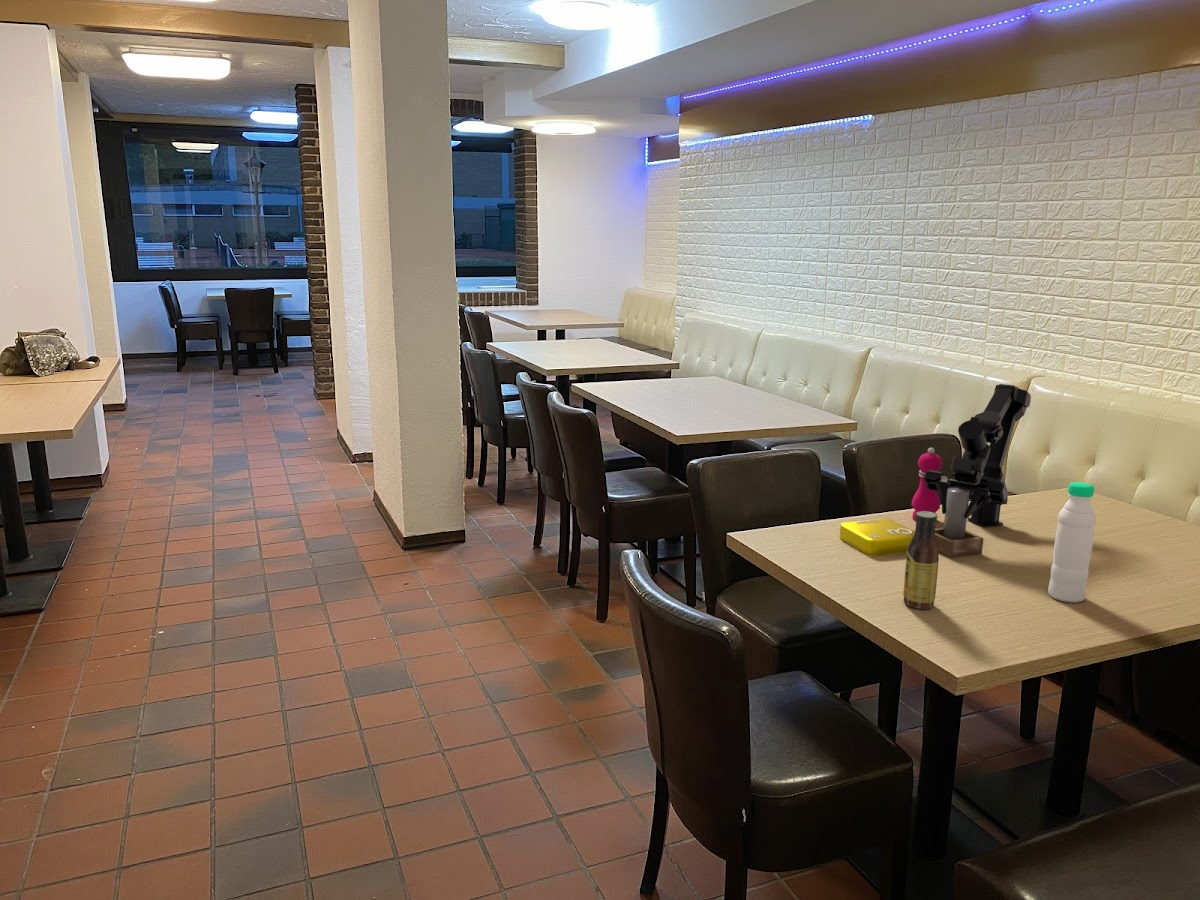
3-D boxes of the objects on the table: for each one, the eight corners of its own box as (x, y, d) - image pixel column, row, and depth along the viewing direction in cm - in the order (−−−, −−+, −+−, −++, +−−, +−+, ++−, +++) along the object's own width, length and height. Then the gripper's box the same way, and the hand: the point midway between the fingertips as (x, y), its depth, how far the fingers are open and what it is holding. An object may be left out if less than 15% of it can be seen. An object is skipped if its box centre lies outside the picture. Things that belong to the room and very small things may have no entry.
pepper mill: (934, 516, 246) (941, 445, 241) (941, 524, 239) (949, 451, 234) (907, 515, 247) (914, 444, 242) (913, 523, 240) (920, 450, 235)
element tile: (886, 533, 233) (888, 515, 232) (923, 552, 219) (925, 533, 218) (836, 538, 228) (837, 520, 227) (870, 558, 214) (872, 539, 213)
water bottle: (1083, 606, 186) (1100, 490, 181) (1045, 599, 190) (1061, 485, 184) (1086, 595, 192) (1102, 482, 186) (1049, 588, 196) (1064, 477, 190)
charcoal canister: (961, 536, 221) (966, 488, 218) (966, 543, 216) (972, 494, 214) (940, 535, 222) (945, 487, 219) (945, 542, 217) (950, 493, 214)
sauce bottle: (909, 596, 191) (917, 506, 186) (938, 604, 187) (948, 512, 182) (897, 605, 186) (905, 513, 181) (927, 613, 182) (937, 520, 177)
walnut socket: (954, 541, 226) (956, 526, 225) (981, 554, 217) (983, 538, 216) (923, 545, 223) (924, 529, 222) (949, 558, 214) (951, 542, 213)
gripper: (929, 438, 222) (909, 490, 217) (1009, 449, 211) (990, 505, 205) (937, 462, 230) (918, 514, 224) (1014, 475, 219) (996, 529, 213)
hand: (954, 515), depth 217 cm, fingers closed on charcoal canister, 5 cm apart
